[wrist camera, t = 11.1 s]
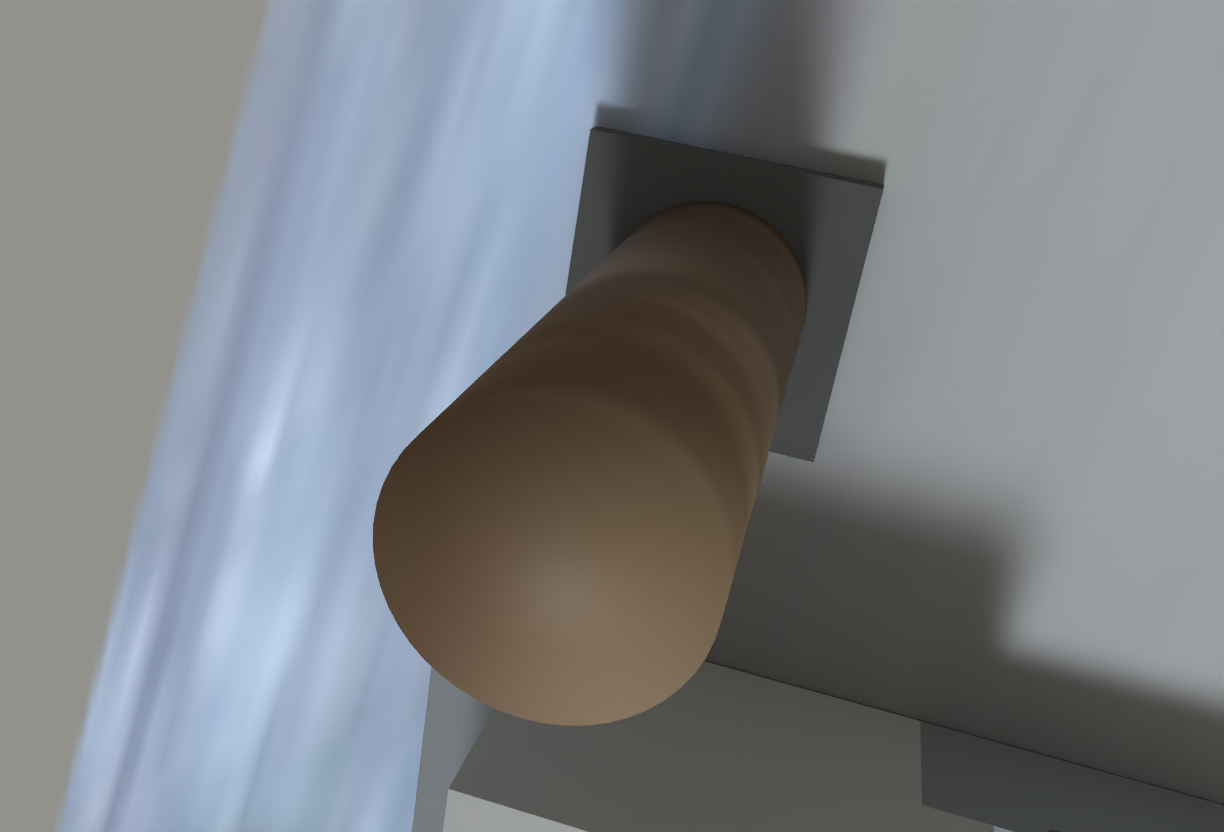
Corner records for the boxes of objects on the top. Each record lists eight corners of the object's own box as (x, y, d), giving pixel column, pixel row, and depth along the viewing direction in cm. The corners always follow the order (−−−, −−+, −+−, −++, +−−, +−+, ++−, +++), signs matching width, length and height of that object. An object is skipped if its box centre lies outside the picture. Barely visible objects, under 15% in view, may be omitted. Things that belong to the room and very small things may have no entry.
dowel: (828, 225, 19) (761, 450, 10) (782, 415, 20) (686, 766, 11) (626, 181, 20) (388, 358, 10) (595, 370, 21) (360, 671, 12)
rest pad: (883, 185, 19) (883, 188, 19) (814, 453, 21) (813, 461, 20) (596, 126, 20) (590, 128, 19) (555, 390, 22) (550, 397, 21)
